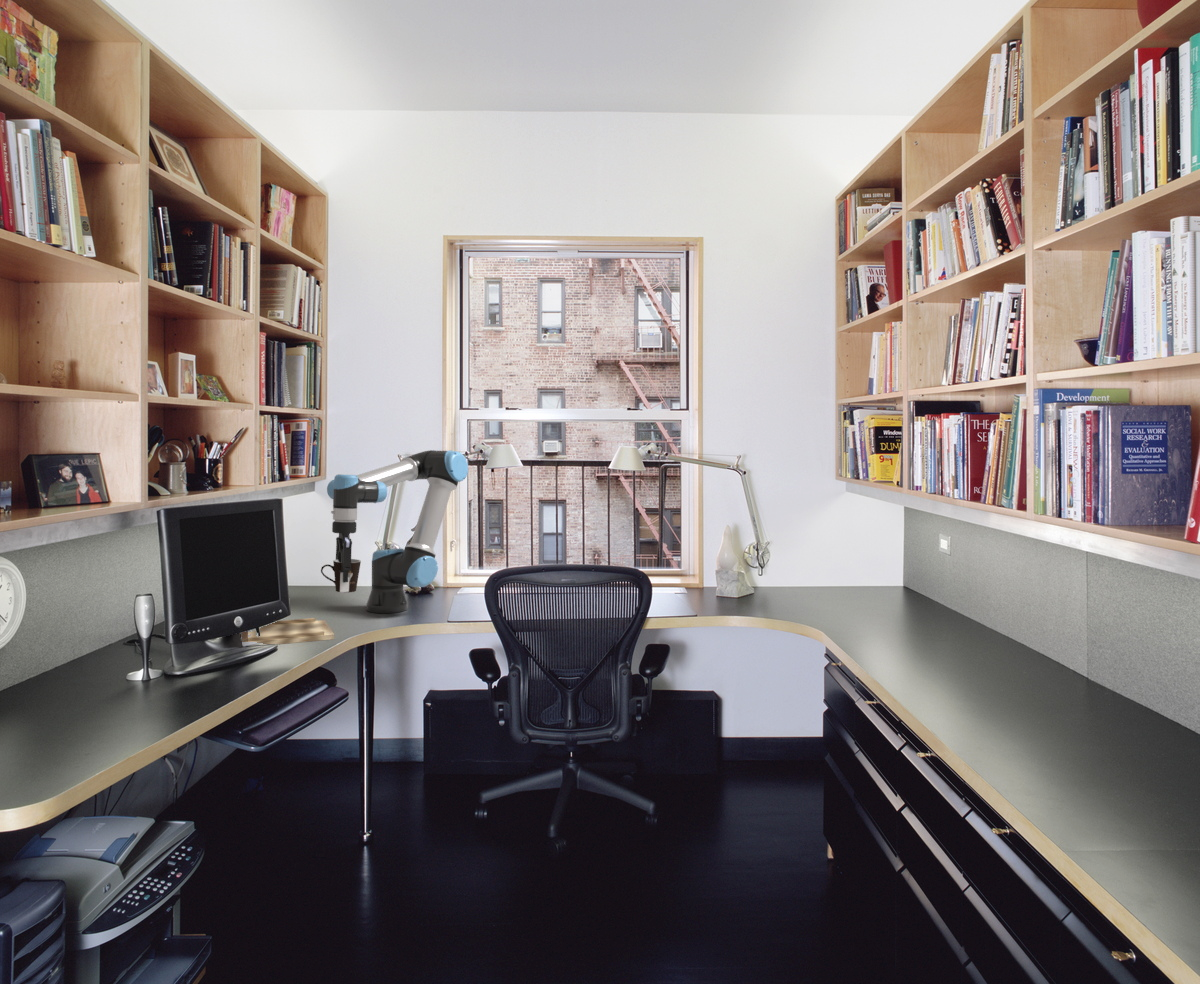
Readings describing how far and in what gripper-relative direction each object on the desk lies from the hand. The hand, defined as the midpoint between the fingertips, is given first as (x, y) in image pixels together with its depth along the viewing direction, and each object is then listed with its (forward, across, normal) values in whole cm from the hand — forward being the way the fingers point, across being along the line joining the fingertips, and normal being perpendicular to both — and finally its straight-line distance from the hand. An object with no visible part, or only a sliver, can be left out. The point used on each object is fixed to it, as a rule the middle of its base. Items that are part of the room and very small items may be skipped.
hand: (342, 590), depth 233 cm
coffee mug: (0, -1, 0) cm, 1 cm away
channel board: (+14, 0, -17) cm, 22 cm away
